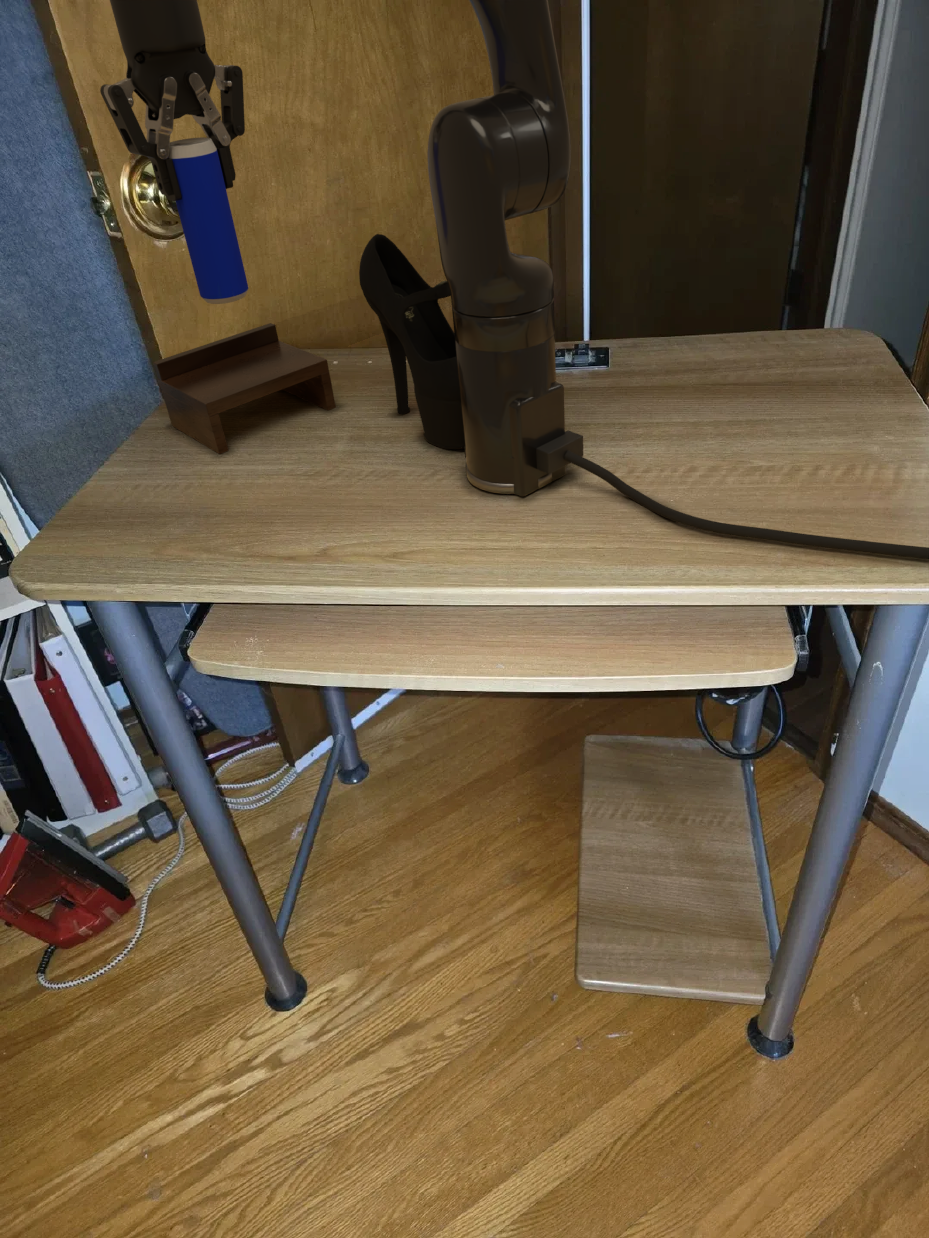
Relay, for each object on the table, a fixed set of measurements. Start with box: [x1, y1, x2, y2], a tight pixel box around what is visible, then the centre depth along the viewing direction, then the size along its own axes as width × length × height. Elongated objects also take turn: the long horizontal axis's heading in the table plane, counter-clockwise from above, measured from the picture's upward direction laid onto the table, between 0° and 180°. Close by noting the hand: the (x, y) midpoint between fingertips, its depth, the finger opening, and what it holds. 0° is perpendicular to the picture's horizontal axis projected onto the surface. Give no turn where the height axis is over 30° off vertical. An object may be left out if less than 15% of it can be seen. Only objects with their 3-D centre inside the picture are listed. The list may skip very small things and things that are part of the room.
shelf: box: [152, 322, 337, 455], centre depth 105 cm, size 12×16×8 cm
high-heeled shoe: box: [358, 233, 465, 450], centre depth 94 cm, size 8×19×20 cm, turn 39°
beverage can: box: [168, 136, 249, 305], centre depth 91 cm, size 5×5×15 cm
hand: (200, 192), depth 89 cm, fingers closed on beverage can, 5 cm apart
